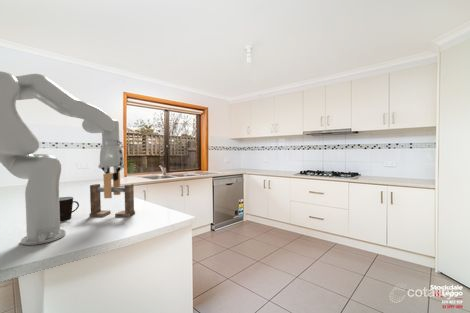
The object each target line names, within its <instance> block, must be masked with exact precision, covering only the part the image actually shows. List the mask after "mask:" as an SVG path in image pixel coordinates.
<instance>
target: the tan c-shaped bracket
mask: <svg viewBox="0 0 470 313" xmlns="http://www.w3.org/2000/svg"><path fill="white" fill-rule="evenodd" d="M113 173H114V171H112V172H111V173H107V174H105V173H104V174H103V187H104V192H103V197H104V198H103V199H112V198H113V196H120V195H121V194H122V192H112V190H111V187H121V172H120V171H119V172H118V180H116V181H113ZM112 184H113V186H112ZM112 193H113V194H112ZM112 195H113V196H112Z"/></svg>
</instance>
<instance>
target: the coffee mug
mask: <svg viewBox="0 0 470 313" xmlns="http://www.w3.org/2000/svg"><path fill="white" fill-rule="evenodd" d="M74 203H76V208H75V209H73V206H74ZM59 206H60V222H65V221H70V220H71V219H72V213H74V212H76V211H77V210H78V209H79V207H80V204H79V202H78V201H76V200H74V197H73V196H61V197H60V196H59Z"/></svg>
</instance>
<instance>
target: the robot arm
mask: <svg viewBox="0 0 470 313" xmlns="http://www.w3.org/2000/svg"><path fill="white" fill-rule="evenodd" d="M33 99H36V100H38V101H40V102H41V103H43V104H44V105H46V106H48V107H50V108H51V109H52V110H54V111H56V112H57V113H59V114H61V115H63V116H65V117H66V116H67V117H71V118H77V119H82V123H81V127H82V129H83V130H84V131H85V132H87V133H90V134H101V143H102V144H101V145H102V146H101V147H100V150H99V151H100V152H99V164H98V166H97V167H98V168H99V169H101V170H102V171H103V172H104V174H107V173H112V172H111V168H112V167H113V172H114V173H113V179H112V182H113V181H116V180H118V172H120V171H121V170H123V169H124V168H125V167H126V165H125V161H124V152H123V148H122V146H120V145H122V143H123V142H122V141H120V123H119V120H117V119H113V118H112V117H111V116H110V115H109V114H108V113H106V112H105V111H104V110H102V109H100V108H99V107H97V106H95V105H93V104H90V103H88V102H86V101H83V100H81V99H78V98H76V97H75V96H73V95H72V94H71V93H69V92H68V91H66V90H65V89H63V88H62V87H60V86H59V85H58V84H57V83H55V82H54V81H52V80H51V79H49V77H47V76H45V75H43V74H39V73H30V74H23V75H22V74H21V75H17V76H14V75H13V74H11V73H9V72H6V71H0V164H2V166H3V167H4V168H5V169H6V170H7V171H8V172H9V174H11V175H13V176H14V177H16V178H18V179H21V180H22V179H23V180H27V183H26V185H25V191H24V195H25V196H24V197H25V200H24V201H25V218H26V219H25V220H26V235H25V236H24V237H23V238H21V240H20V243H21V244H22V245H23V246H24V245H25V246H36V245H42V244H47V243H52V242H54V241H57V240H60V239H61V238H63V237H64V236H65V235H66V230H65V229H61V221H60V206H59V197H60V179H61V175H62V164H61V161H60V160H59V159H58V158H57V157H55V156H54V155H50V154H48V153H47V154H45V153H44V154H43V153H36V152H37V151H38V150H39V148H40V141H39V139H38V137H37V136H36V135H35V134H34V132H33V131H32V130H31V129H30V128H29V126H28V125H27V123H25V121H24V120H23V118H22V117H21V115H20V114H19V112H18V110H17V106H16V104H17V101H23V100H33Z"/></svg>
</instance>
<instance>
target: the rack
mask: <svg viewBox="0 0 470 313" xmlns="http://www.w3.org/2000/svg"><path fill="white" fill-rule="evenodd" d="M111 190H112V193H114V192H120V193H124V210H119V211H118V212H116V213H115V214H114V217H115V218H130V217H131V216H134V215H135V214H136V210H135V192H134V183H128V184H124V186H123V187H121V186H120V187H113V186H111ZM101 193H104V186H103V187H102V186H101V184H99V183H95V184H90V185H89V195H90V196H89V197H90V199H89V201H90V203H89V204H90V213H89V216H88V217H90V218H91V217H92V218H93V217H94V218H104V217H106V216H108V215H110V214H111V210H108V209H107V210H101V208H102V206H101V204H102V203H101Z"/></svg>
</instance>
